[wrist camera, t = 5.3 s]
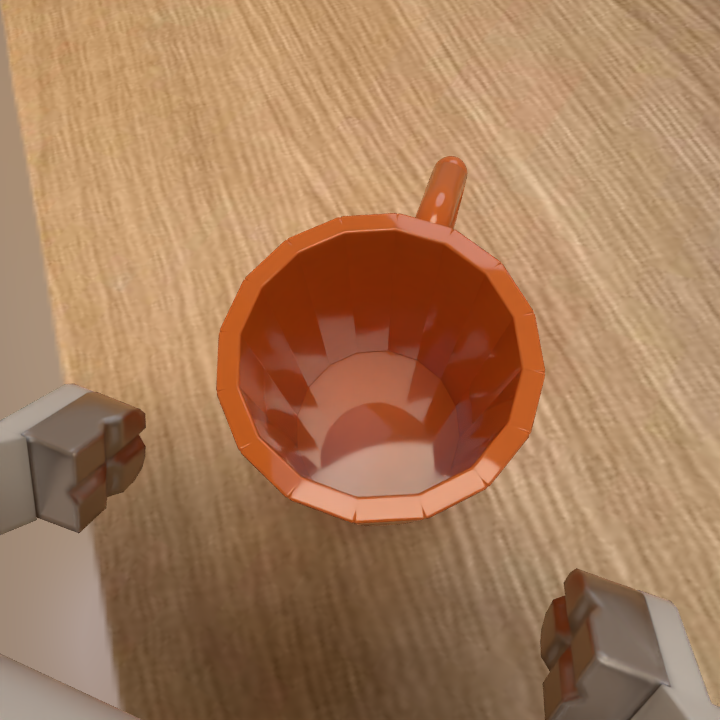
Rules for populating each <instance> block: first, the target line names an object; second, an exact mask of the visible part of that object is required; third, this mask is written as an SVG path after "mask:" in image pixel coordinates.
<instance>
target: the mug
mask: <svg viewBox="0 0 720 720" xmlns="http://www.w3.org/2000/svg"><path fill="white" fill-rule="evenodd" d="M466 179H467V168H466V165H465V164H464V162H463V161H462V160H461V159H459V158H458V157H455V156H447V157H444V158H442V159H441V160H439V161H438V162H437V163H436V165H435V166H434V168H433V171H432V174H431V176H430V179H429V182H428V185H427V187H426V190H425V193H424V195H423V198H422V201H421V203H420V206H419V209H418V211H417V214H416V217H415V218H414V217H411V216H407V215H404V214H398V215H397V213H388V214H372V215H356V216H342V217H341V218H339V217H338V218H335V219H333V220H330V221H328V222H326V223H323V224H321V225H319V226H316V227H314V228H312V229H309V230H307V231H304V232H302V233H300V234H297V235H295V236H293V237H290V238H288V240H285V241H284V242H283V243H282V244H281V245H280V246H279V247H278V248H276V249H275V250H274V251H273V252H272V253H271V254H270V255H269V256H268V257H267V258H266V259H265V260H264V261H263V262H261V263H260V264H259V265H258V266H257V267H256V268H255V269H254V270H253V271H252V272H251V273H250V274H249V275H248V276H246V278H245V280H243V282H242V284H241V286H240V289H239V291H238V293H237V295H236V297H235V299H234V301H233V303H232V305H231V307H230V310H229V312H228V314H227V316H226V318H225V320H224V322H223V324H222V326H221V328H220V333H219V340H218V362H217V385H216V390H217V396H218V399H219V401H220V404H221V406H222V409H223V411H224V414H225V416H226V419H227V422H228V424H229V427H230V429H231V432H232V434H233V437H234V439H235V442H236V445H237V447H238V449H239V450H240V451H241V454H242V455H243V456H244V457H245V458H246V459H247V460H248V461H249V462H250V463H251V464H252V465H253V466H254V467H255V468H256V469H257V470H258V471H259V472H260V473H261V474H262V475H264V476H265V477H266V478H267V479H268V480H269V481H270V482H271V483H272V484H273V485H274V486H275V487H276V488H277V489H278V490H279V491H280V492H281V493H282V494H283V495H284V496H285V497H287V498H289V499H290V500H291V501H294V502H297V503H299V504H302V505H305V506H307V507H310V508H313V509H315V510H318V511H321V512H323V513H326V514H329V515H331V516H334V517H337V518H339V519H342V520H345V521H347V522H350V523H354V524H357V525H361V526H381V525H383V526H384V525H399V524H406V523H411V522H415V521H420V520H423V519H428V518H430V517H432V516H434V515H436V514H438V513H440V512H442V511H444V510H446V509H448V508H450V507H452V506H454V505H456V504H458V503H460V502H462V501H464V500H466V499H468V498H469V497H471V496H473V495H475V494H477V493H479V492H481V491H483V490H485V489H486V488H487V487H488V486H490V485H491V484H492V483H493V481H494V480H495V479H496V478H497V476H498V475H499V474H500V473H501V471H502V470H503V469H504V468H505V466H506V465H507V464H508V463H509V461H510V460H511V459H512V458H513V456H514V455H515V454H516V453H517V451H518V450H519V449H520V448H521V446H522V445H523V444H524V443H525V441H526V440H527V439H528V438H529V434H530V433H531V431H532V427H533V423H534V419H535V415H536V411H537V407H538V402H539V398H540V394H541V390H542V386H543V382H544V378H545V367H544V361H543V356H542V350H541V345H540V340H539V334H538V329H537V323H536V318H535V314H534V312H533V309H532V308H531V306H530V305H529V303H528V302H527V300H526V299H525V297H524V296H523V294H522V293H521V291H520V290H519V288H518V287H517V285H516V284H515V282H514V280H513V279H512V277H511V276H510V274H509V273H508V271H507V270H506V268H505V267H504V265H503V264H501V262H500V261H499V260H497V259H496V258H495V257H493V256H492V255H490V254H489V253H488V252H486V251H485V250H483V249H482V248H481V247H479V246H478V245H476V244H475V243H474V242H472V241H471V240H469V239H468V238H467V237H465V236H464V235H462V234H461V233H460V232H458V231H457V230H455V229H454V226H455V222H456V218H457V214H458V210H459V207H460V203H461V199H462V195H463V191H464V187H465V183H466Z"/></svg>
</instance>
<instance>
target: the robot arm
mask: <svg viewBox="0 0 720 720" xmlns="http://www.w3.org/2000/svg"><path fill="white" fill-rule="evenodd" d="M145 428H146V420H145V413H144V412H143V411H142V410H140V409H139V408H136V407H134V406H131V405H128V404H126V403H123V402H121V401H118V400H116V399H113V398H111V397H108V396H106V395H103V394H101V393H98V392H94V391H91V390H89V389H86V388H84V387H81V386H79V385H76V384H64V385H62V386H61V387H59V388H57V389H55V390H54V391H52V392H50V393H48V394H47V395H45V396H43V397H41V398H39V399H38V400H36V401H34V402H32V403H30V404H29V405H27V406H25V407H23V408H22V409H20V410H18V411H16V412H14V413H13V414H11V415H9V416H7V417H6V418H4V419H2V420H0V535H1V534H4V533H6V532H9V531H11V530H14V529H16V528H19V527H21V526H23V525H26V524H28V523H31V522H33V521H36V520H37V518H40V519H43V520H45V521H48V522H50V523H53V524H56V525H59V526H61V527H64V528H66V529H69V530H72V531H75V532H77V533H80V532H81V531H82V530H83V529H84V528H85V527H86V526H87V525H89V524H90V523H91V522H92V521H93V520H94V519H95V518H96V517H97V516H98V515H99V514H100V513H101V512H103V511H104V510H105V509H106V506H107V497H109V496H112V495H116V494H119V493H122V492H124V491H125V490H126V489H127V488H128V487H129V486H130V485H131V484H132V483H133V482H134V481H135V479H136V477H137V476H138V474H139V472H140V471H141V469H142V466H143V463H144V459H145V449H146V446H145V445H144V443H143V441H142V439H141V438H140V436H139V434H140V433H141V432H142V431H143V430H144V429H145ZM564 590H565V596H562V597H559V598H557V599H554V600H553V601H552V603H551V604H550V606H549V608H548V610H547V612H546V614H545V618H544V621H543V625H542V628H541V640H540V647H541V658H542V659H543V661H544V662H545V664H546V666H547V667H548V669H549V671H550V673H549V674H548V676H547V677H546V679H545V680H544V682H543V697H544V711H545V720H720V707H718V706H716V705H714V704H712V703H711V700H710V698H709V695H708V692H707V689H706V687H705V684H704V681H703V678H702V675H701V673H700V670H699V667H698V664H697V662H696V659H695V656H694V653H693V651H692V648H691V645H690V642H689V639H688V637H687V634H686V631H685V628H684V626H683V623H682V620H681V617H680V614H679V612H678V609H677V607H676V606H675V605H674V604H673V603H672V602H671V601H669V600H666V599H663V598H660V597H657V596H654V595H652V594H649V593H646V592H643V591H640V590H635V589H633V588H630V587H627V586H625V585H622V584H619V583H616V582H613V581H611V580H608V579H605V578H602V577H599V576H597V575H594V574H591V573H588V572H585V571H583V570H580V569H577V568H576V569H575V570H573V571H572V572H570V574H569V575H568V577H567V578H566V580H565V581H564ZM0 720H141V719H139V718H137V717H135V716H133V715H131V714H129V713H126V712H124V711H122V710H120V709H118V708H116V707H113V706H111V705H109V704H107V703H105V702H103V701H100V700H98V699H96V698H94V697H92V696H90V695H88V694H86V693H83V692H81V691H79V690H77V689H75V688H73V687H71V686H68V685H66V684H64V683H61V682H60V681H57V680H55V679H53V678H51V677H49V676H47V675H45V674H42V673H40V672H38V671H36V670H34V669H32V668H29V667H27V666H25V665H23V664H21V663H19V662H17V661H15V660H12V659H10V658H8V657H6V656H4V655H2V654H0Z"/></svg>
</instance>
